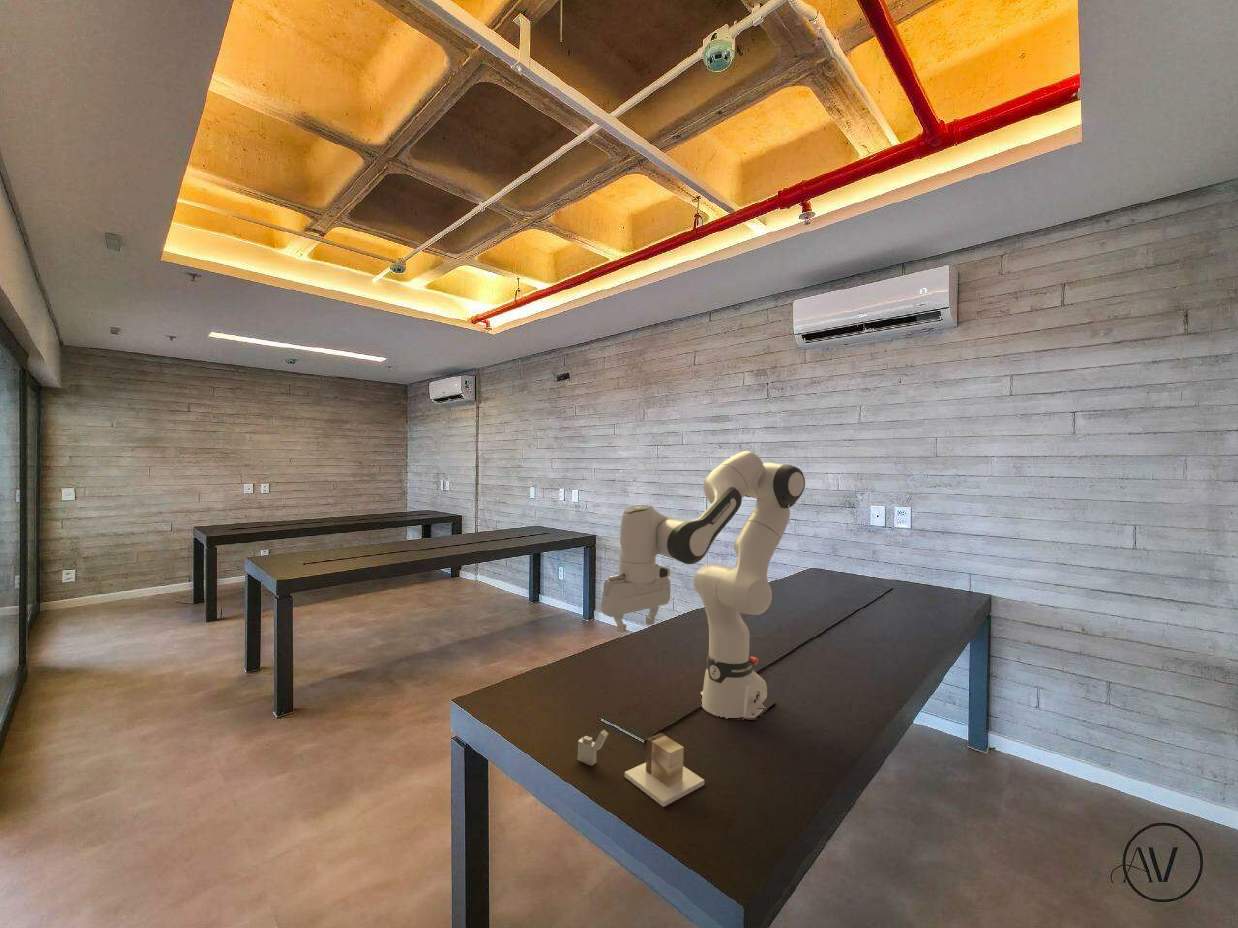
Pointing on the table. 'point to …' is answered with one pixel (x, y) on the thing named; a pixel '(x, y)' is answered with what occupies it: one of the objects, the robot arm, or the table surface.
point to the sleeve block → (664, 759)
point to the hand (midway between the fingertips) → (636, 627)
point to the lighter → (590, 748)
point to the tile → (660, 790)
